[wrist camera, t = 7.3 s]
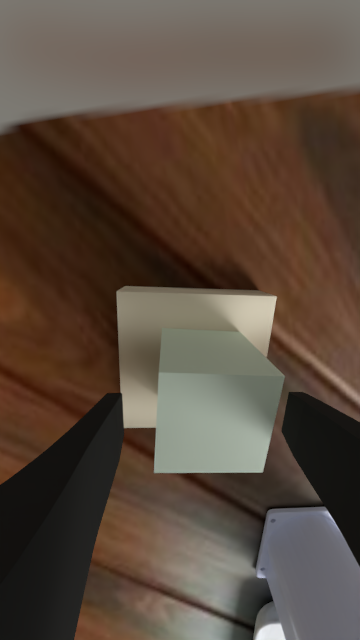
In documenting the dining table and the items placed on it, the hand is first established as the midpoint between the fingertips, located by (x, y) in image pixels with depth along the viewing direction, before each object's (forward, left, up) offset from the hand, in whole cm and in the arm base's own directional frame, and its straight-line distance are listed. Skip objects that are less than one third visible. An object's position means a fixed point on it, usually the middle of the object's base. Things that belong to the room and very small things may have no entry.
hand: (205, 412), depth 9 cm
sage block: (0, 0, -4) cm, 4 cm away
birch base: (0, 0, -7) cm, 7 cm away
